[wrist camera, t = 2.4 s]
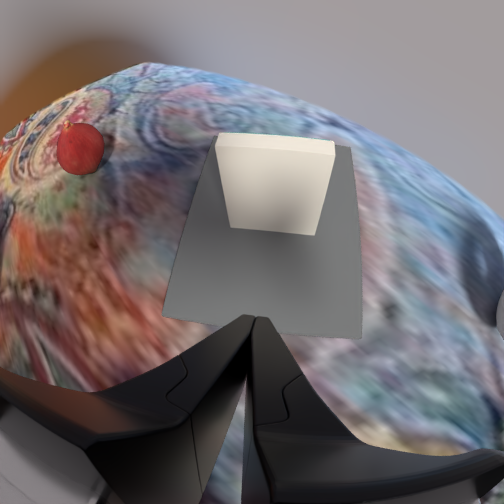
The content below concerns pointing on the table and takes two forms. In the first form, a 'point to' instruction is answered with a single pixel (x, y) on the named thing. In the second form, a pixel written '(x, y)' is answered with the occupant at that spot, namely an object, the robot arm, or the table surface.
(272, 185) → the tile
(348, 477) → the robot arm
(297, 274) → the mat
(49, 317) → the table surface
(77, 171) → the onion
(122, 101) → the table surface
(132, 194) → the table surface
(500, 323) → the donut
